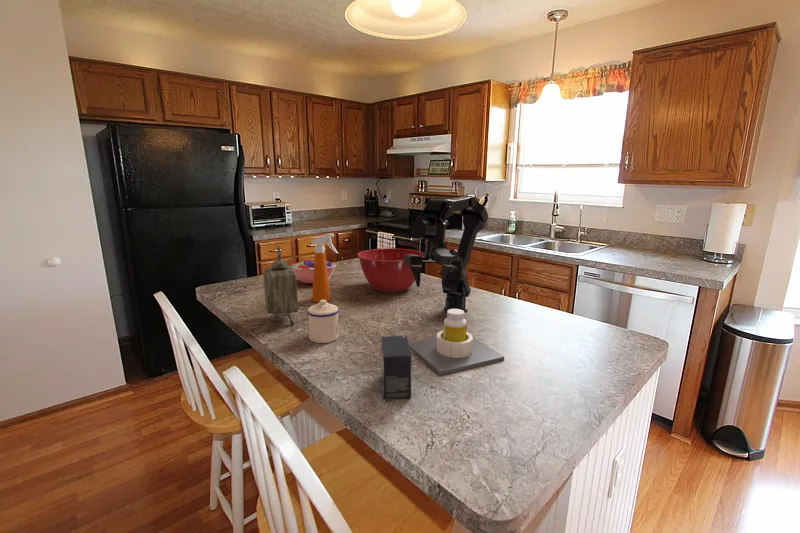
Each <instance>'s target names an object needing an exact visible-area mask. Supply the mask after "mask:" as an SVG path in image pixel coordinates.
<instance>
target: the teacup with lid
mask: <svg viewBox="0 0 800 533" xmlns="http://www.w3.org/2000/svg"><path fill="white" fill-rule="evenodd" d="M339 312H340V309H339V307H338V305H335V304H331V303H329V302H326V300H320V301H319V302H317V303H316V304H313V305H311V306H309V307H308V308H307V315H308V316H307V317H308V318H307V319H308V337H309V340H310V341H311V342H313V343H316V344H327V343H328V344H329V343H332V342H334V341H336V340H338V339H339V336H340V335H339Z"/></svg>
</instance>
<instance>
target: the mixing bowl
mask: <svg viewBox="0 0 800 533" xmlns="http://www.w3.org/2000/svg"><path fill="white" fill-rule="evenodd" d="M423 253H424V252H423V251H418V250H414V249H407V248H374V249H367V250H363V251H359V252H358V253H357V257H358V259H359V264H360V267H361V269H362V272H363V275H364V276H365V278H366V281H367V282H368V284H369V286H370V287H372V288H373V289H375V290H376V291H378V292H380V293H381V292H382V293H394V294H395V293H402V292H404V291H406V290H407V289H409V288H410V287H411V286H412V285H413V284H415V283H414V282H415V279H414V275H413V273H412V270H411V268H410V266H408V265H407V264H406V263H404V256H405V255H406V254H416V255H419V256H422V257H424V256H423ZM422 264H423V263H422ZM422 264H421V265H420V266H422Z"/></svg>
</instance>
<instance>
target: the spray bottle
mask: <svg viewBox="0 0 800 533" xmlns="http://www.w3.org/2000/svg"><path fill="white" fill-rule="evenodd" d="M334 237H335V234H334V233H330V232H329V233H324V234H321V235H319V236H318V237H317V236H316V237H315V238H314V239H312V240H311V243H312V244H314V245H315V247H314V260H313V261H314V277H313V284H312V296H311V301H312V302H314V303H319V301H320V300H326V303H328V302H329V301H331V291H330V283H329V279H328V274H327V266H326V261H327V259H326V250H325V249H326V248H325V247H324V244H326V245H327V247H329V248H330V250H332V251H333V252H334V253H335V254H339V252H338V251H337V249H336V247H335V246H334V245H333V242H332V238H334Z"/></svg>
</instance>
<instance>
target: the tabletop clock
mask: <svg viewBox="0 0 800 533" xmlns="http://www.w3.org/2000/svg"><path fill="white" fill-rule="evenodd" d="M276 248H277V250H276V251H277V260H275V261H273V263H272V264H271V266H269V267H267V268H265V269H263V271H262V272H263V286H264V301H265V307H266V308H265V309H266V312H267V313H268V314H270V315H273V316H274V317H272V321H274V322H278V320H279V316H278V315H286V316H287V317H288V319H289V320H290V321H289V324H290V325H291V326H293V325H295V324H296V321H295V320H294V319H292V316H291V314H293V313H299V300H298V298H299V297H298V296H299V295H298V283H297V281H298V280H297V279H298V278H297V277H296V272H295V270H294V268H293V266H292V265H293V264H291V265H289V264H288V263H287V261H285V260H284V259H282V250H281V247H280V246H279V245H277V247H276Z"/></svg>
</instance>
